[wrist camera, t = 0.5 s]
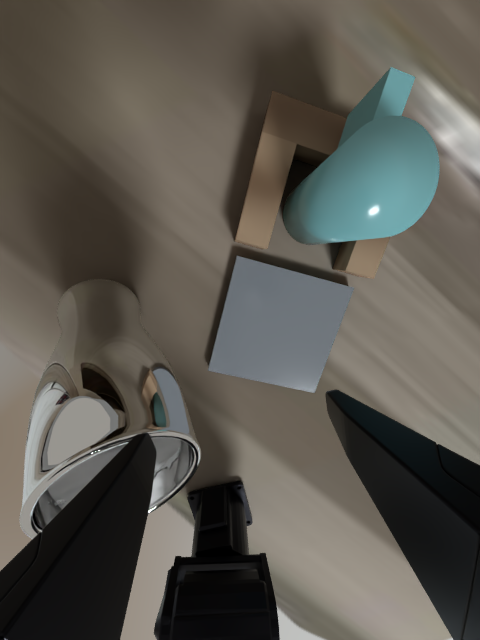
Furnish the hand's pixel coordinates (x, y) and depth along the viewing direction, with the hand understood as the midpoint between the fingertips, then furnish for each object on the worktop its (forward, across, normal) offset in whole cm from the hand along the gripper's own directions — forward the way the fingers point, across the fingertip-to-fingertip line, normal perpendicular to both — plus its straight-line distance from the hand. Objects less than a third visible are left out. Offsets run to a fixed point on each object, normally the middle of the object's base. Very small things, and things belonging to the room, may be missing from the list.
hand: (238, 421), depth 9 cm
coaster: (+15, -4, +3) cm, 16 cm away
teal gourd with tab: (+16, -10, -8) cm, 20 cm away
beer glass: (+14, +11, -3) cm, 17 cm away
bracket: (+15, -9, -6) cm, 19 cm away
